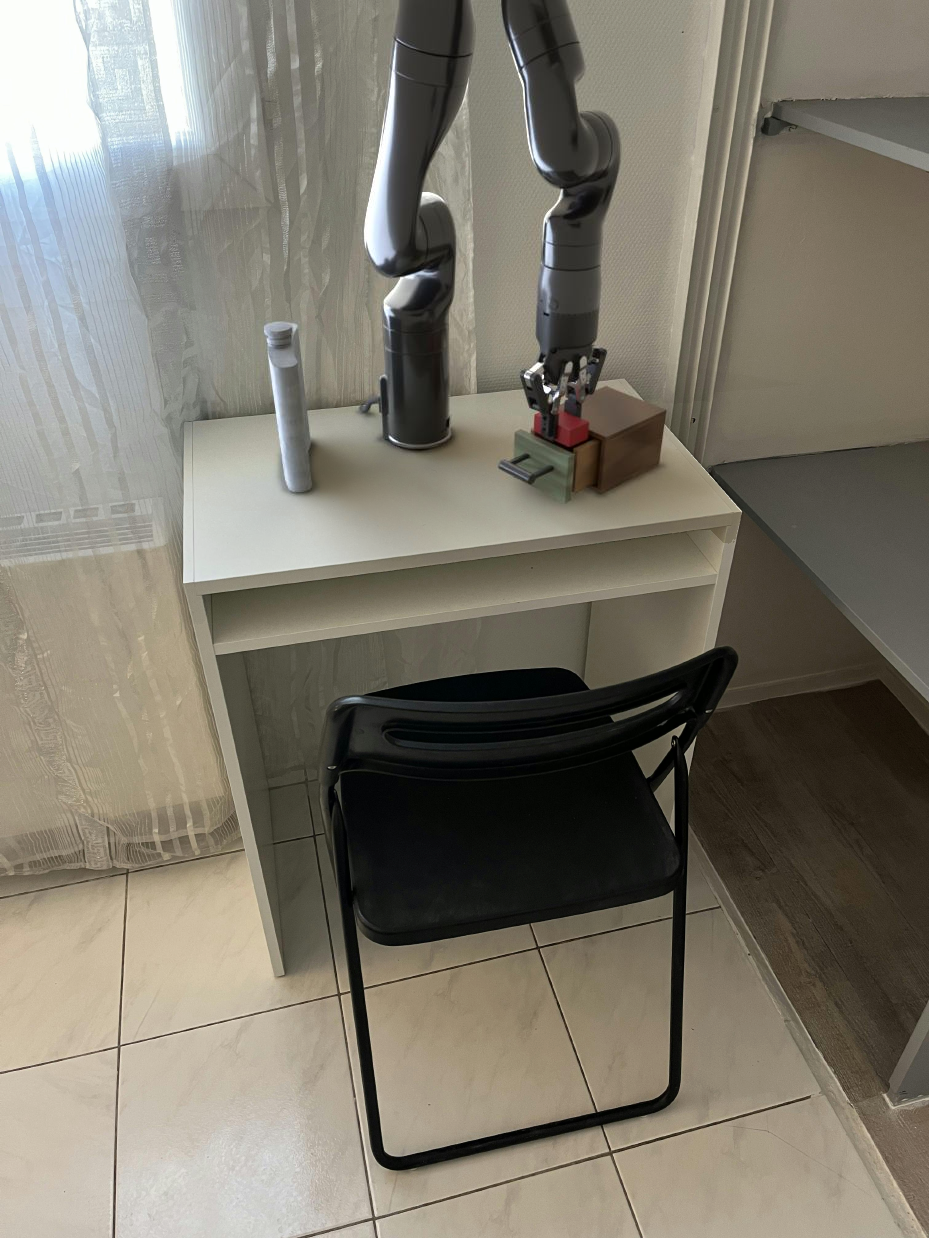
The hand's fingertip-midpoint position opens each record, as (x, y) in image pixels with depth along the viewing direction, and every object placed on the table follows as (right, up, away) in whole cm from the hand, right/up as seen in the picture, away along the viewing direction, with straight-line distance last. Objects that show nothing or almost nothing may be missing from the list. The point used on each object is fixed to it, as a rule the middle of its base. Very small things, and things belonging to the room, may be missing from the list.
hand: (560, 432), depth 122 cm
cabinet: (+7, -3, +10) cm, 12 cm away
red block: (0, 0, 0) cm, 0 cm away
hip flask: (-36, -3, +10) cm, 38 cm away
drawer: (0, -6, +4) cm, 7 cm away
